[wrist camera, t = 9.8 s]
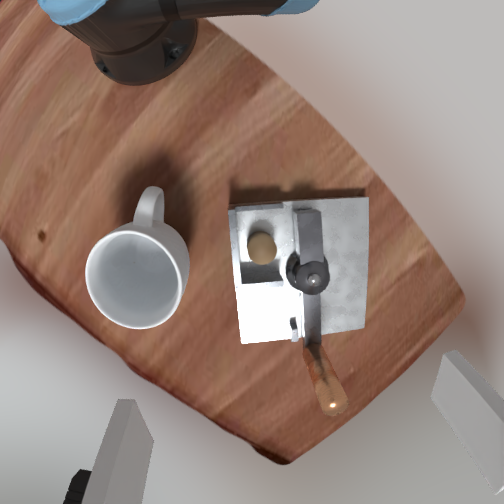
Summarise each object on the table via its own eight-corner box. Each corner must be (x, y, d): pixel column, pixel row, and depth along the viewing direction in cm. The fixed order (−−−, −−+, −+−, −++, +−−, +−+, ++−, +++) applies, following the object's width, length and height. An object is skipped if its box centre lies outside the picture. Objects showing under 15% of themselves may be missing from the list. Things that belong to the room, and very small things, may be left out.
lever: (287, 211, 40) (313, 233, 27) (320, 208, 40) (360, 228, 27) (296, 357, 46) (317, 419, 33) (325, 353, 46) (352, 411, 33)
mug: (127, 179, 40) (87, 185, 28) (205, 188, 42) (193, 197, 29) (120, 281, 44) (85, 320, 31) (192, 292, 45) (178, 338, 33)
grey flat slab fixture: (228, 204, 42) (228, 210, 36) (362, 195, 43) (381, 200, 37) (241, 336, 47) (242, 358, 42) (359, 322, 48) (373, 340, 42)
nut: (244, 233, 41) (245, 238, 38) (271, 228, 41) (274, 233, 38) (248, 259, 42) (250, 267, 39) (275, 254, 42) (279, 261, 39)
